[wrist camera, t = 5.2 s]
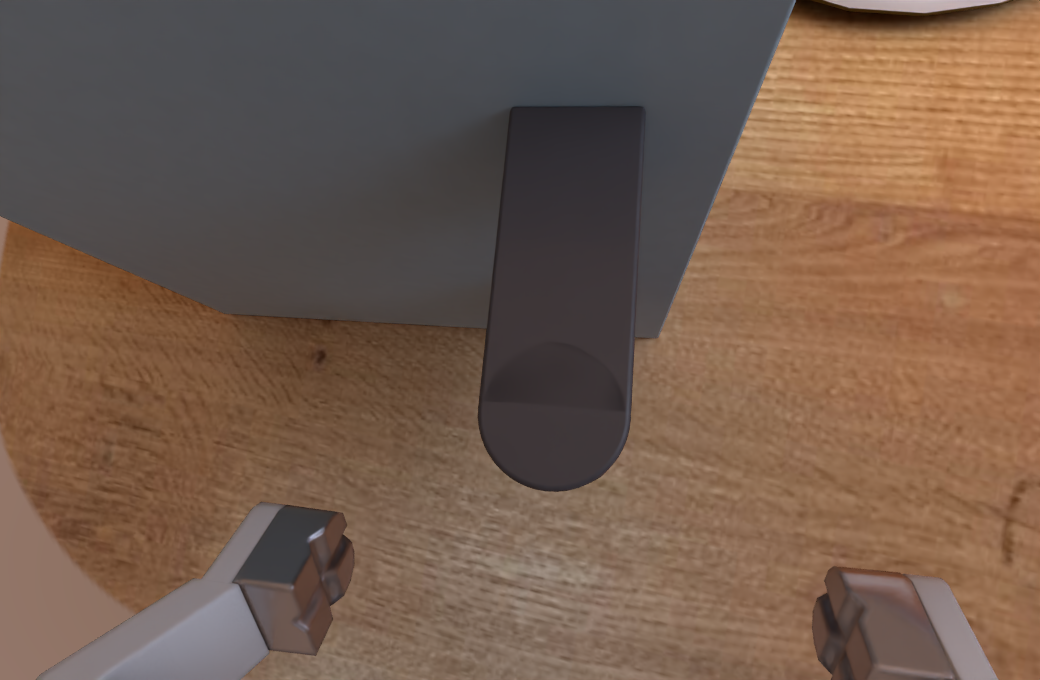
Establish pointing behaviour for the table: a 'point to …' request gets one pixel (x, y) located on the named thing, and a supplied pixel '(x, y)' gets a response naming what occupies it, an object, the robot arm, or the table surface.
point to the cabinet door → (399, 172)
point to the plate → (911, 6)
